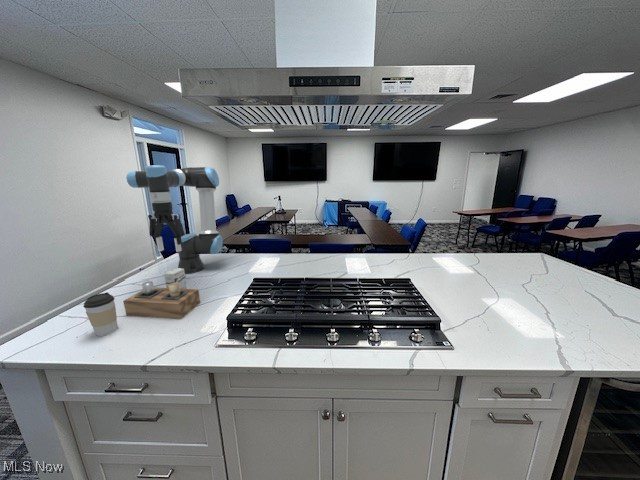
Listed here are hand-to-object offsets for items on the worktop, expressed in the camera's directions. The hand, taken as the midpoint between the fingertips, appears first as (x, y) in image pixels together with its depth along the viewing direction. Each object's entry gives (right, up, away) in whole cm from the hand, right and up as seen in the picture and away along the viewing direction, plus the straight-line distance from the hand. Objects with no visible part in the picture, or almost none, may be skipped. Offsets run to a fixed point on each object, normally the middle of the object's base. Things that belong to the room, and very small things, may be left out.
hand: (170, 250), depth 116 cm
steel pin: (-8, -21, -2) cm, 23 cm away
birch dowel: (+5, -22, -3) cm, 23 cm away
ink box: (-5, -22, +16) cm, 28 cm away
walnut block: (-2, -26, -1) cm, 27 cm away
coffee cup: (-15, -31, -17) cm, 38 cm away
